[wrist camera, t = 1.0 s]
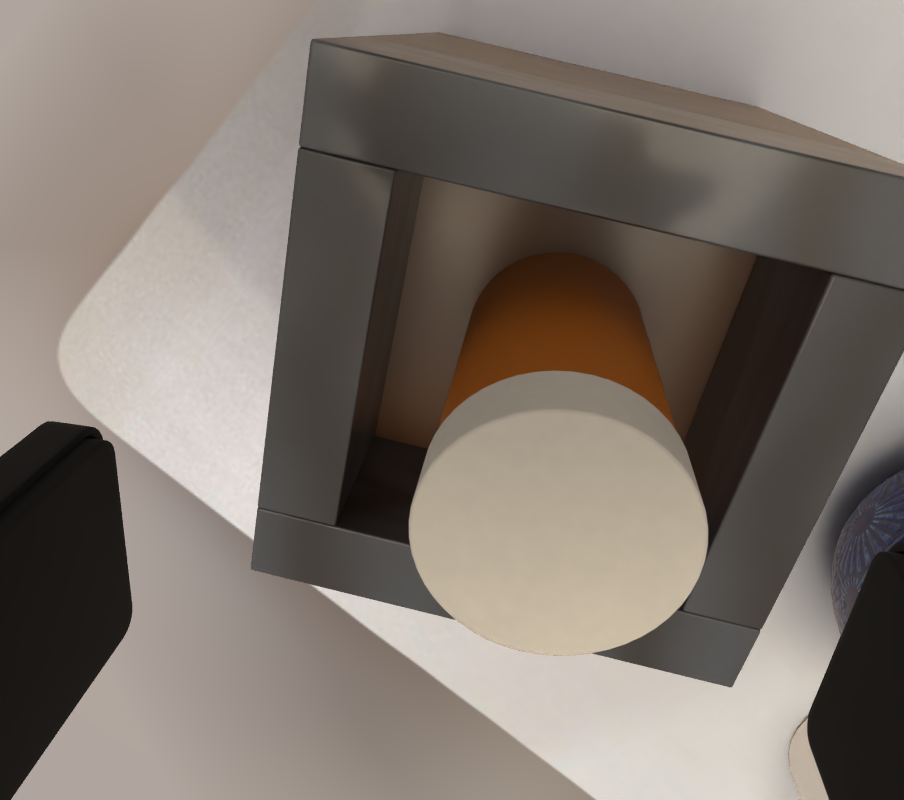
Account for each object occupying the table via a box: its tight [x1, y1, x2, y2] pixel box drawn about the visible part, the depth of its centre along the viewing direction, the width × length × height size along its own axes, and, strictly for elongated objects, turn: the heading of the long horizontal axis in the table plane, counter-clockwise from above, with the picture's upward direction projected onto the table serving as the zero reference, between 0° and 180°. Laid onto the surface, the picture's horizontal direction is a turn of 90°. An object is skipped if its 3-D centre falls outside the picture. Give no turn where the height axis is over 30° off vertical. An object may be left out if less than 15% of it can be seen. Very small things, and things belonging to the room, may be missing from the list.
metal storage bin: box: [251, 33, 904, 687], centre depth 31 cm, size 16×16×22 cm
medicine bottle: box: [409, 253, 708, 656], centre depth 22 cm, size 6×6×12 cm
